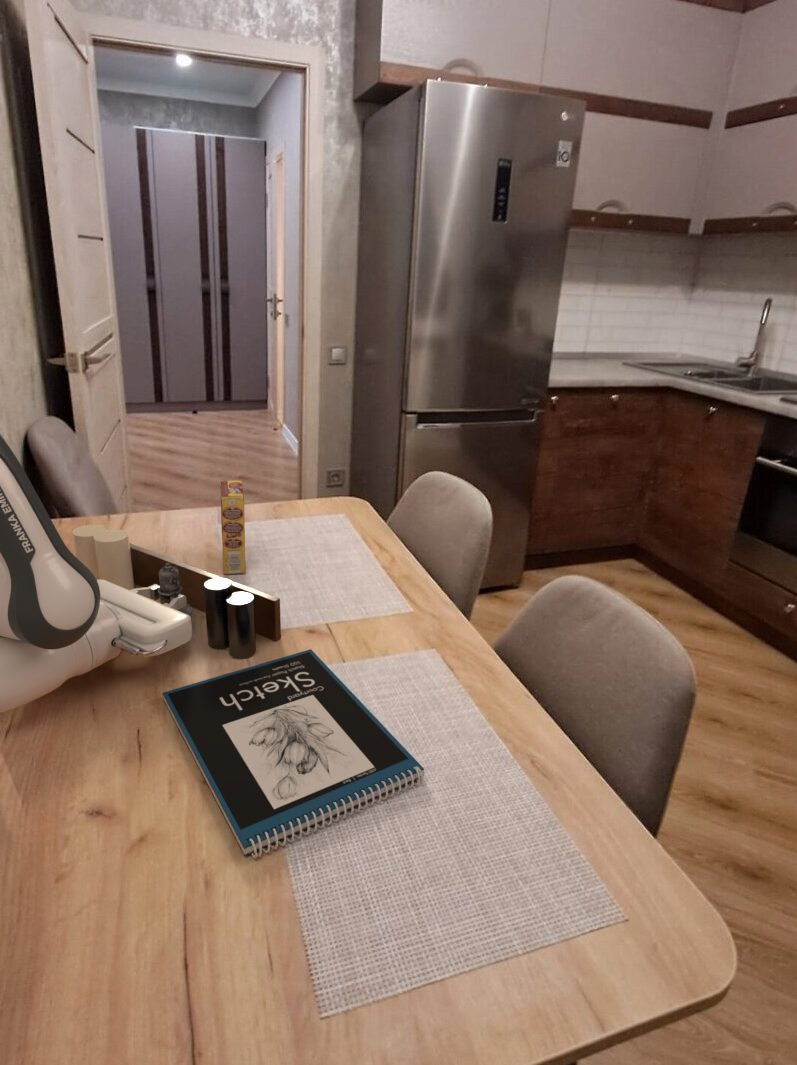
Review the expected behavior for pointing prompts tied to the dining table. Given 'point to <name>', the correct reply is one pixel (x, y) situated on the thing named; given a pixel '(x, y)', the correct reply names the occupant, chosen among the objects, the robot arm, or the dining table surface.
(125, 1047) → the dining table surface
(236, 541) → the candy box
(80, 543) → the cream shakers
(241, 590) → the brown wooden board
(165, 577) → the dark grey upright piece
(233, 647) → the dark metal shakers
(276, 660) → the sketchbook
